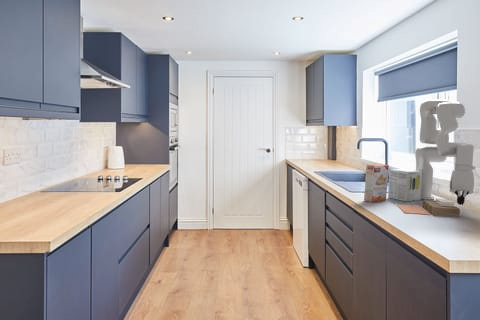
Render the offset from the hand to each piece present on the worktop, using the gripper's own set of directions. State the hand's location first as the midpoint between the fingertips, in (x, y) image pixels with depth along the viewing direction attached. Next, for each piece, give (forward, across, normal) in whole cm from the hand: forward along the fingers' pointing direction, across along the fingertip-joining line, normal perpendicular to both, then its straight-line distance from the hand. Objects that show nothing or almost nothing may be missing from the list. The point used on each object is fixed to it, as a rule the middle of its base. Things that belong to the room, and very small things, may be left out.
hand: (460, 204), depth 197 cm
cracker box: (+5, +38, -20) cm, 44 cm away
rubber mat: (+5, +22, 0) cm, 23 cm away
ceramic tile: (+1, +7, 0) cm, 7 cm away
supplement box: (+5, +20, -33) cm, 39 cm away
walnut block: (+5, +9, 0) cm, 10 cm away
